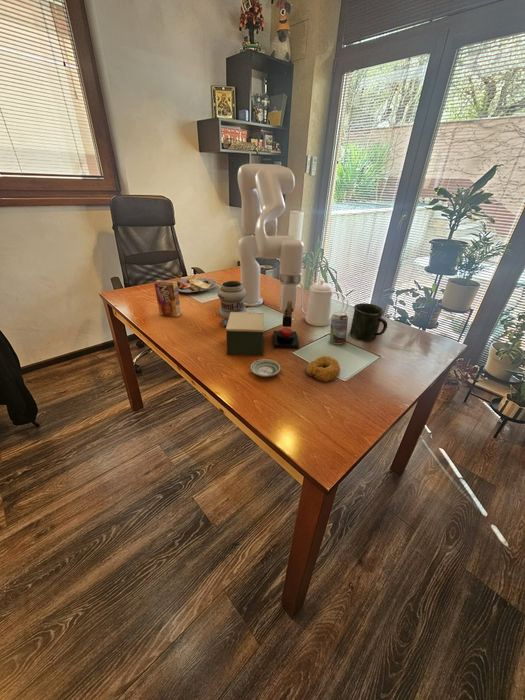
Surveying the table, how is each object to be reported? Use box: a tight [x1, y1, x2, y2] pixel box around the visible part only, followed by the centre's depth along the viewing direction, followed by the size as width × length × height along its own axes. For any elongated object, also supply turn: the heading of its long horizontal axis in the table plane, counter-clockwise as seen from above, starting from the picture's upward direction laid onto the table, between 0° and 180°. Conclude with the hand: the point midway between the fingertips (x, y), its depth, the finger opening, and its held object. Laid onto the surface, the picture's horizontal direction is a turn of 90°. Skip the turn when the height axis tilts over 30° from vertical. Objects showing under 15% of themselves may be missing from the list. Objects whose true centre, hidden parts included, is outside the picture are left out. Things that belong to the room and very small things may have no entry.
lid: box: [225, 311, 265, 333], centre depth 104 cm, size 14×13×1 cm
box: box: [225, 322, 265, 356], centre depth 107 cm, size 14×13×10 cm
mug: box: [349, 302, 388, 342], centre depth 114 cm, size 11×15×12 cm
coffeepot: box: [299, 279, 349, 327], centre depth 124 cm, size 11×25×19 cm, turn 62°
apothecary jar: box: [216, 280, 248, 329], centre depth 120 cm, size 12×12×18 cm
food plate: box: [176, 275, 217, 293], centre depth 163 cm, size 25×23×4 cm
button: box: [280, 327, 293, 336], centre depth 111 cm, size 4×4×2 cm
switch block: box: [273, 329, 300, 350], centre depth 112 cm, size 11×9×4 cm
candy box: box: [153, 279, 182, 318], centre depth 129 cm, size 9×4×15 cm, turn 78°
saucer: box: [250, 358, 282, 378], centre depth 94 cm, size 10×10×2 cm
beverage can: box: [329, 311, 349, 345], centre depth 110 cm, size 6×7×12 cm
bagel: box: [305, 355, 342, 382], centre depth 94 cm, size 10×11×5 cm
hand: (286, 325), depth 109 cm, fingers closed
